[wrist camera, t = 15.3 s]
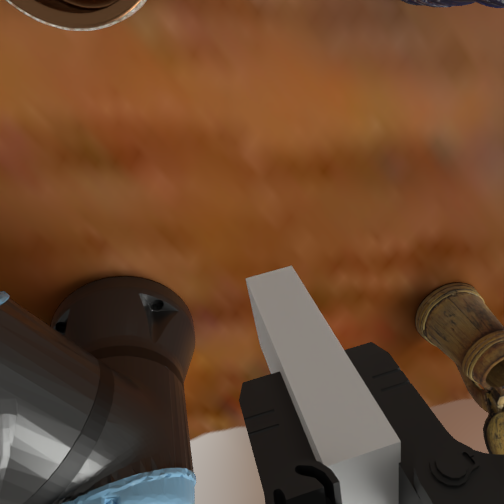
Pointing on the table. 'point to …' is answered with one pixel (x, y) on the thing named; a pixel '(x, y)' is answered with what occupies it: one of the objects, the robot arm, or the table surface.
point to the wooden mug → (470, 349)
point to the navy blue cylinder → (456, 3)
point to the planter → (78, 12)
